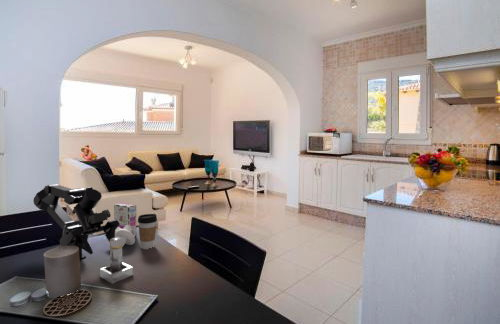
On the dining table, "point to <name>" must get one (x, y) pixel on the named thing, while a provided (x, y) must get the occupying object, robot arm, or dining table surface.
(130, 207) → the candy bar box
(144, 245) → the coffee cup
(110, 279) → the white square flat box
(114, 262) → the tube
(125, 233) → the white knot sculpture
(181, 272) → the dining table surface
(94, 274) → the dining table surface
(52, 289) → the pillar candle
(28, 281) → the dining table surface
